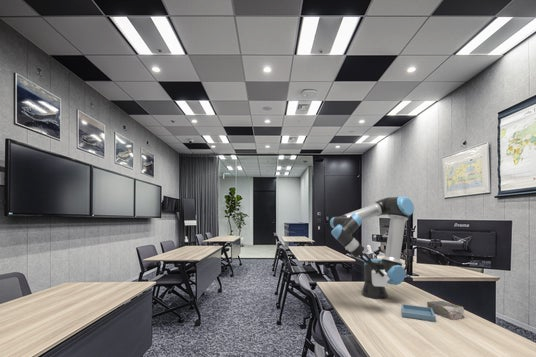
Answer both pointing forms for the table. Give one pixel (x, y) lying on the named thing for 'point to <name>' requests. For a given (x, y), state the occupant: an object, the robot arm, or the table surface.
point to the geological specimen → (447, 309)
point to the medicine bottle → (378, 279)
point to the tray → (418, 312)
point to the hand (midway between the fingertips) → (386, 278)
